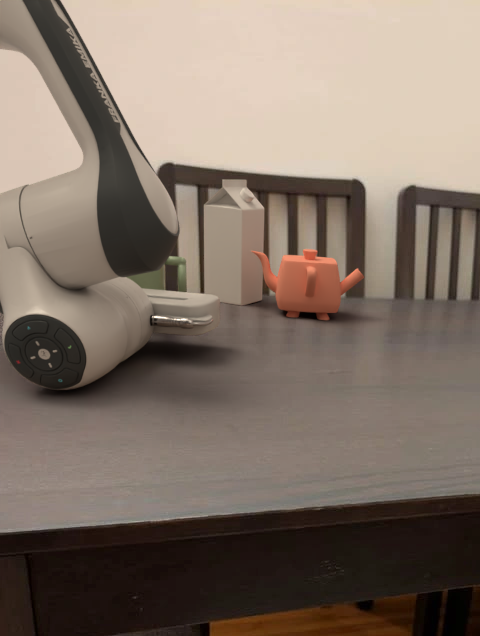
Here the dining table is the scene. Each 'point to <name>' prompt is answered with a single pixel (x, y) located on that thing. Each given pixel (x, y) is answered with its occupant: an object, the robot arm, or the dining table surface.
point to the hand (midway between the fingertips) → (149, 295)
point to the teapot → (307, 283)
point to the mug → (163, 276)
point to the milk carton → (233, 244)
